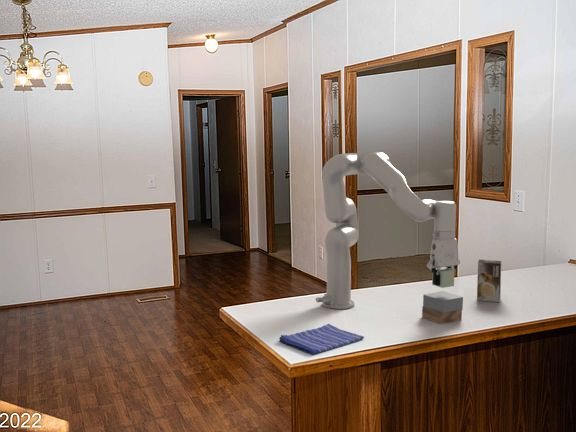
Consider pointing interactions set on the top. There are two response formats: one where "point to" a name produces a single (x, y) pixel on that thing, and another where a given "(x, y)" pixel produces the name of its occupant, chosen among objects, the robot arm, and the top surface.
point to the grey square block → (442, 301)
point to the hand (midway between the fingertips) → (442, 283)
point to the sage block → (445, 277)
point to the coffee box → (489, 280)
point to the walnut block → (441, 315)
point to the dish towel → (320, 339)
